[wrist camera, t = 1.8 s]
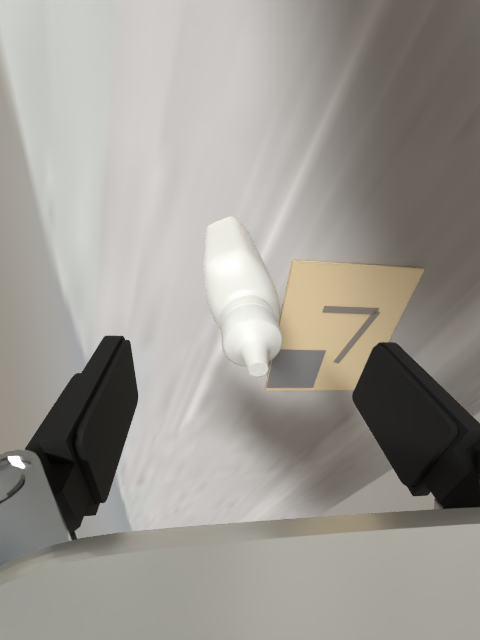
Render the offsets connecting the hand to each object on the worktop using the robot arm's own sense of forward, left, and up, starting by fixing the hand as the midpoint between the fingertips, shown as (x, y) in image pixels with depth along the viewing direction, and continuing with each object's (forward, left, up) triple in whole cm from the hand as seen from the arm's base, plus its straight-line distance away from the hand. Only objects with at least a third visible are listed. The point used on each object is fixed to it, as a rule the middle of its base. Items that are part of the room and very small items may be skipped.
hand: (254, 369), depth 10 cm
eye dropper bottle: (-1, 0, -11) cm, 11 cm away
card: (+6, +10, -11) cm, 16 cm away
